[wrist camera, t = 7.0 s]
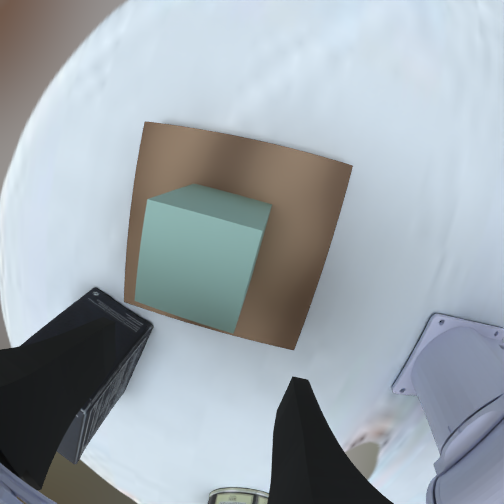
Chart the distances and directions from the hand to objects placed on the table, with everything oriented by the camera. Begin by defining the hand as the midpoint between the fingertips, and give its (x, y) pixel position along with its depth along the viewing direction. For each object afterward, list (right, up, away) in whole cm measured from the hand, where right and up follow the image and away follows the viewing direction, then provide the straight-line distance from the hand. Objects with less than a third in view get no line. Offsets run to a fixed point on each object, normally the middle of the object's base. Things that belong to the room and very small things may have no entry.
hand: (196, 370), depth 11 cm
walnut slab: (+1, +6, +9) cm, 11 cm away
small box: (-11, -4, +14) cm, 18 cm away
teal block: (+1, +6, +6) cm, 9 cm away
